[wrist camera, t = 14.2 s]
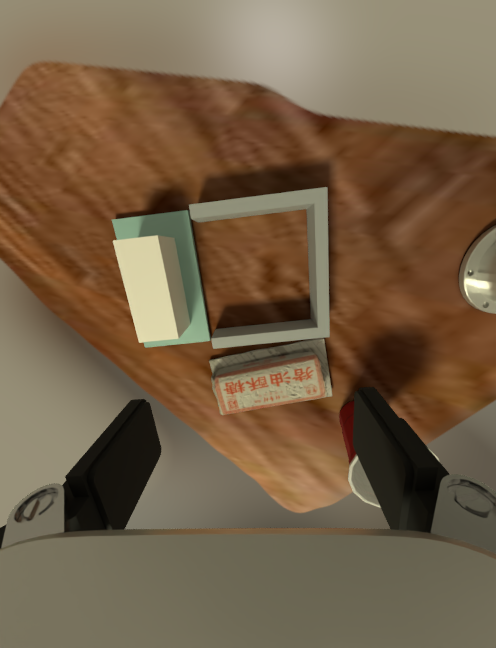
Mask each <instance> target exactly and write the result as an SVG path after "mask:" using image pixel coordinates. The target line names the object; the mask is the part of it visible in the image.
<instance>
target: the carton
mask: <svg viewBox="0 0 496 648" xmlns="http://www.w3.org/2000/svg"><path fill="white" fill-rule="evenodd" d="M113 244H114V247H115V251H116V255H117V259H118V263H119V267H120V271H121V274H122V278H123V282H124V286H125V290H126V294H127V298H128V302H129V305H130V309H131V313H132V317H133V321H134V325H135V329H136V333H137V336H138V340H139V343H140V342H150V341H161V340H171V339H179V338H180V337H181V335H182V334H183V333H184V332H185V330H186V329H187V328H188V327H189V325H190V319H189V313H188V308H187V303H186V297H185V292H184V286H183V281H182V276H181V270H180V265H179V260H178V254H177V249H176V243H175V238H172V237H165V236H159V235H156V236H148V237H139V238H130V239H122V240H113Z"/></svg>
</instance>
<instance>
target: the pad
mask: <svg viewBox="0 0 496 648" xmlns="http://www.w3.org/2000/svg"><path fill="white" fill-rule="evenodd" d="M112 222H113V226H114V230H115V234H116V238H117V240H122V239H130V238H139V237H148V236H156V235H159V236H165V237H172V238H175V243H176V249H177V254H178V260H179V265H180V270H181V276H182V281H183V286H184V292H185V297H186V303H187V308H188V313H189V319H190V325H189V327H188V328H187V329H186V330H185V332H184V333H183V334H182V335H181V337H180V338H179V339H171V340H161V341H150V342H144V345H145V348H146V347H155V346H165V345H175V344H185V343H194V342H204V341H210V340H211V336H210V331H209V325H208V319H207V313H206V307H205V301H204V295H203V289H202V283H201V278H200V272H199V266H198V260H197V254H196V248H195V242H194V236H193V231H192V225H191V219H190V213H189V211H188V210H185V211H177V212H169V213H161V214H153V215H146V216H138V217H130V218H122V219H114V220H112Z"/></svg>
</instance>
